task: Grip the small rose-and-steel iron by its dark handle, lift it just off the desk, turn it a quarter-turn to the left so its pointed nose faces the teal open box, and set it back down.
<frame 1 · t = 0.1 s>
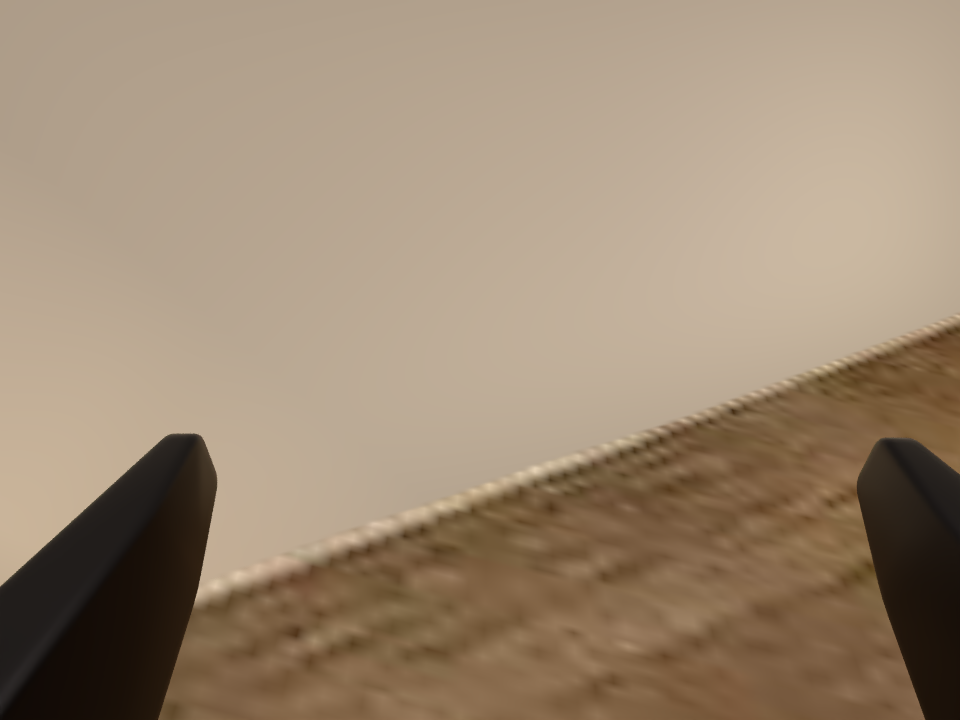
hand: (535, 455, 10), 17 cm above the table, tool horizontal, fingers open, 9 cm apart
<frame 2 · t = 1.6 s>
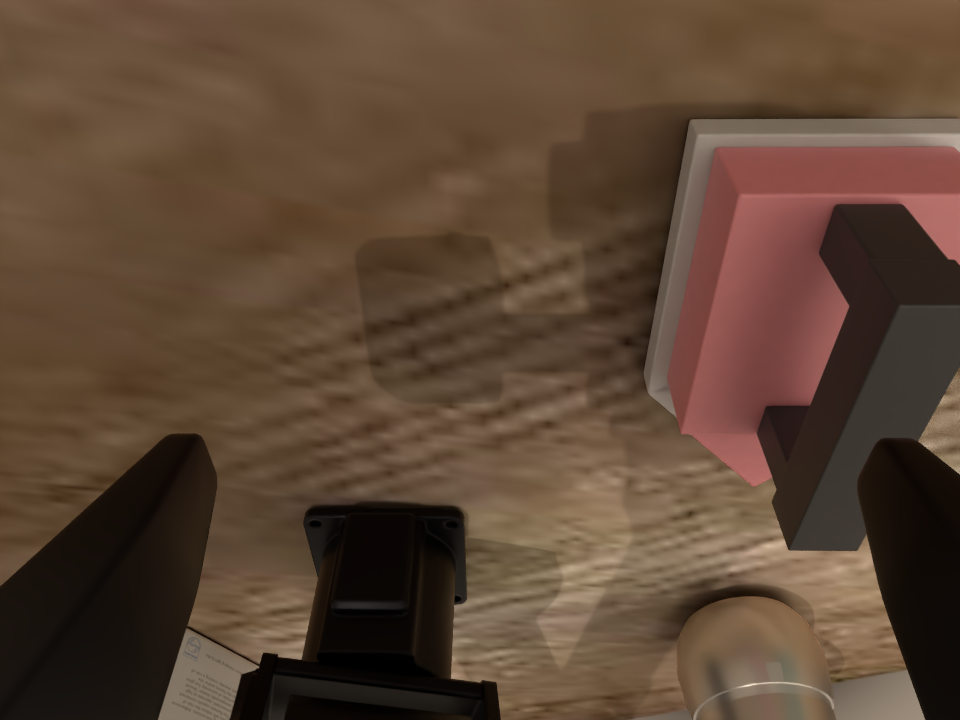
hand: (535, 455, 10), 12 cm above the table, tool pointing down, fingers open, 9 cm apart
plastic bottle: (735, 611, 36), on the table
iron: (749, 362, 25), on the table
light bulb box: (173, 674, 41), on the table
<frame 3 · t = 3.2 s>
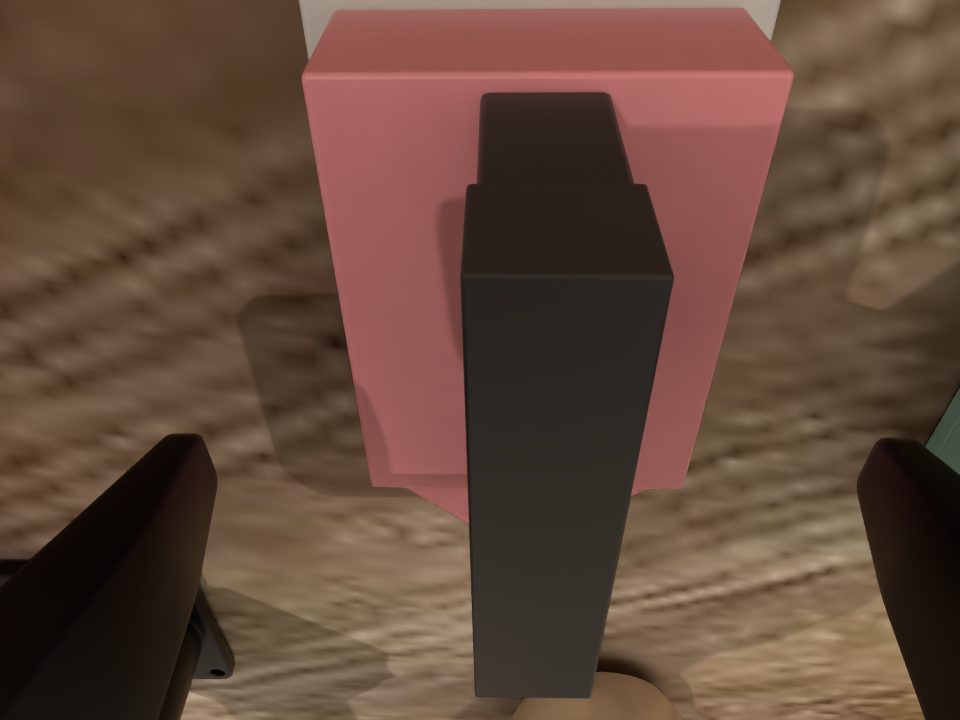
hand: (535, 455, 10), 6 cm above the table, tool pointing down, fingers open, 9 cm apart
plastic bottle: (591, 684, 28), on the table
iron: (521, 373, 17), on the table
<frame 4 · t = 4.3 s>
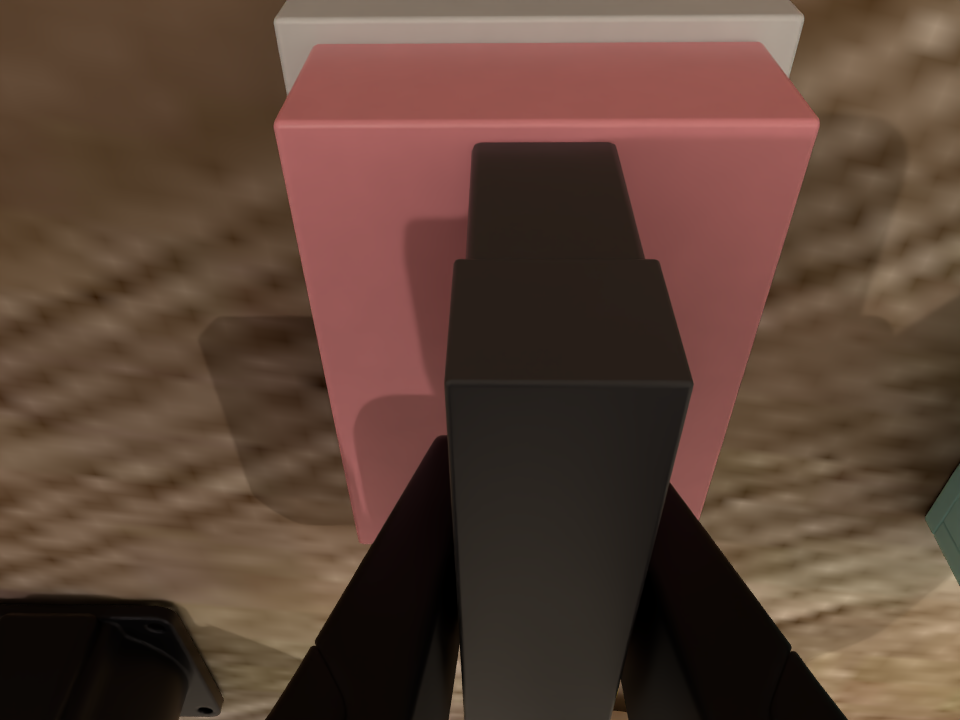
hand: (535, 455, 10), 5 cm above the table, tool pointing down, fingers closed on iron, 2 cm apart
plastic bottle: (592, 719, 27), on the table
iron: (519, 414, 16), on the table, touching gripper
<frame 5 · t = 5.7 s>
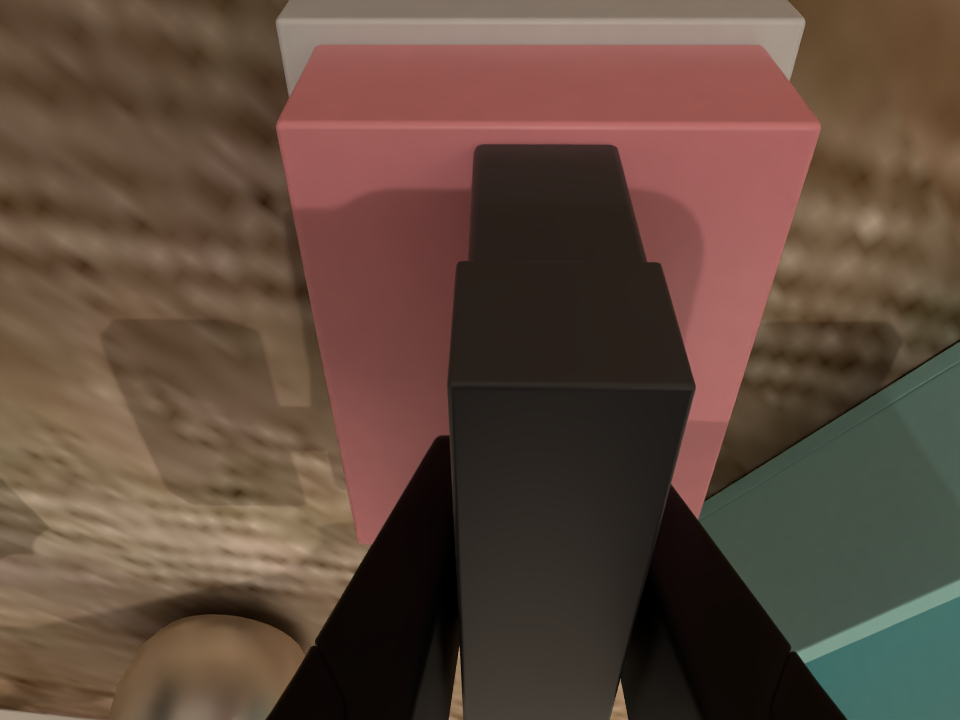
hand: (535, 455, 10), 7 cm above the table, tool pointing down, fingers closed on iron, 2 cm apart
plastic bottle: (237, 632, 27), on the table
iron: (518, 415, 16), point 2 cm above the table, touching gripper
teal open box: (907, 473, 20), on the table
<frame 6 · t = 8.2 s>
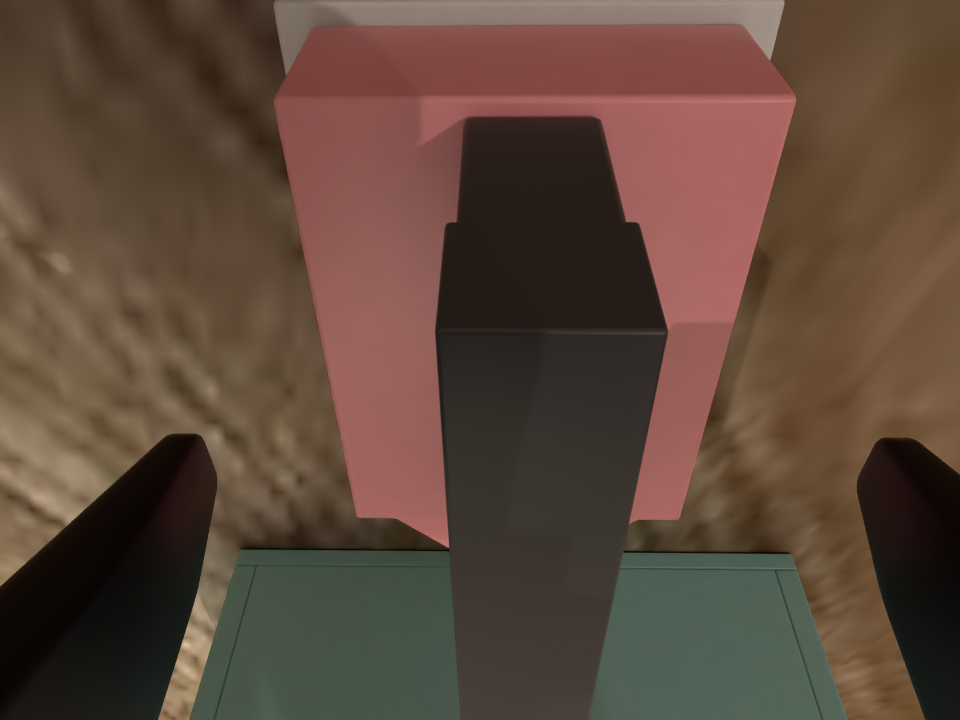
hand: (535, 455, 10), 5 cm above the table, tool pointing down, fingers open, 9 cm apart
iron: (513, 395, 17), on the table
teal open box: (511, 613, 23), on the table
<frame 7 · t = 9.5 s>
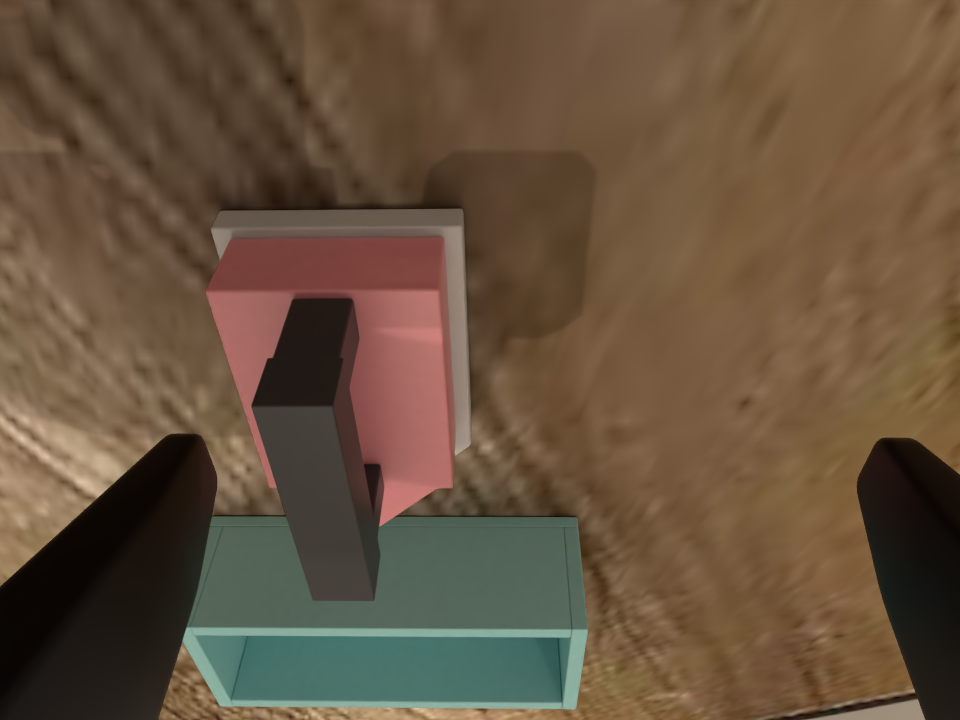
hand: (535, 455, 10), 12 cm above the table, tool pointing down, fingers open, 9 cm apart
iron: (374, 415, 27), on the table
teal open box: (400, 561, 33), on the table
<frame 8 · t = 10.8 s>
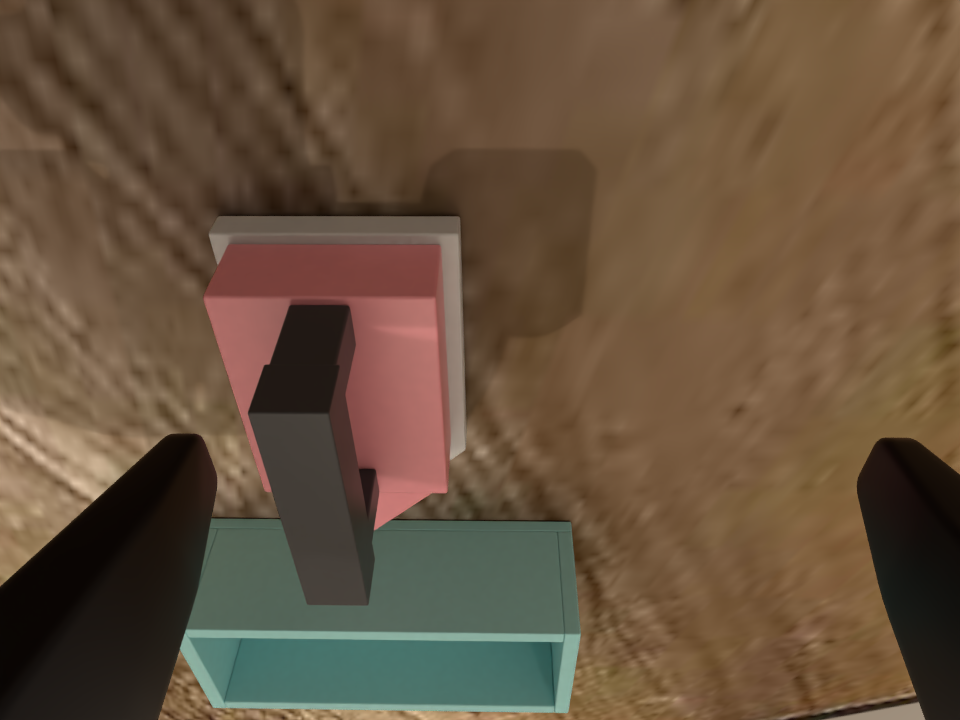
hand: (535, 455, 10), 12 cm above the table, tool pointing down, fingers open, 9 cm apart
iron: (370, 419, 27), on the table
teal open box: (395, 564, 33), on the table
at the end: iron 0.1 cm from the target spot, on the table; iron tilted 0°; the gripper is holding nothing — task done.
